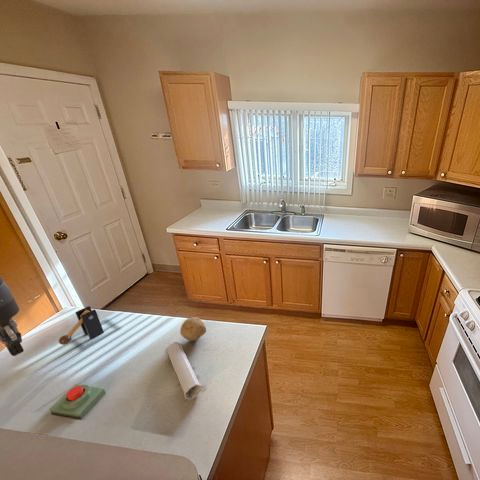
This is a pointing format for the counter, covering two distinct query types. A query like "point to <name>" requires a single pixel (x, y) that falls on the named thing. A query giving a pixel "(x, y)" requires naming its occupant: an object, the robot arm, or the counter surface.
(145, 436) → the counter surface
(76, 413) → the button block
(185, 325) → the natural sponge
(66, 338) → the switch lever
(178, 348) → the tube
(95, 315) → the bracket
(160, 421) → the counter surface
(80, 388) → the button
